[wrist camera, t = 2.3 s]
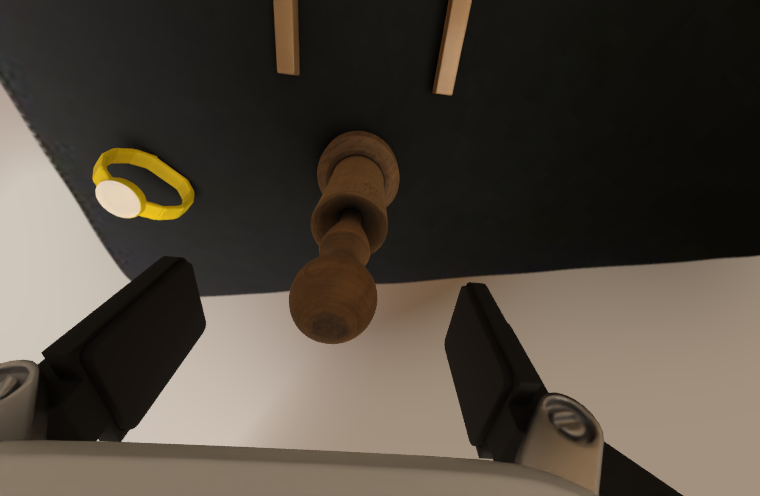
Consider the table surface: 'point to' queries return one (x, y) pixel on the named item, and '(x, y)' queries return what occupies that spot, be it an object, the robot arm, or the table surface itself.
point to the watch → (127, 196)
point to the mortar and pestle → (345, 238)
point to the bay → (448, 54)
